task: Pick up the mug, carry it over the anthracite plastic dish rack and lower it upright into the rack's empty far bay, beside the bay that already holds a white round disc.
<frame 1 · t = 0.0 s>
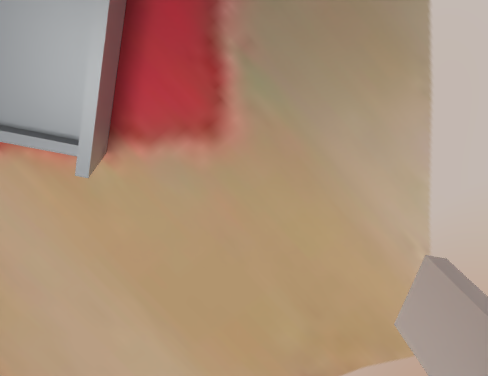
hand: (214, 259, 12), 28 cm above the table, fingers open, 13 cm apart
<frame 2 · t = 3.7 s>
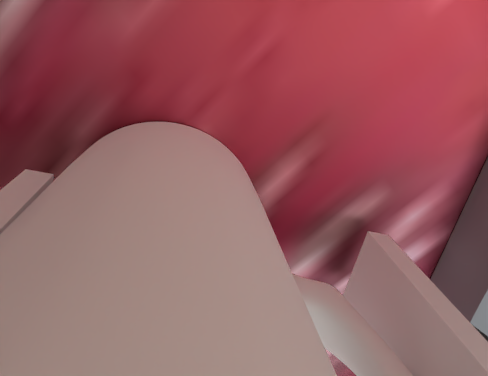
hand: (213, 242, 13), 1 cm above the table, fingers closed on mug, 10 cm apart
mug: (208, 221, 14), on the table, touching gripper
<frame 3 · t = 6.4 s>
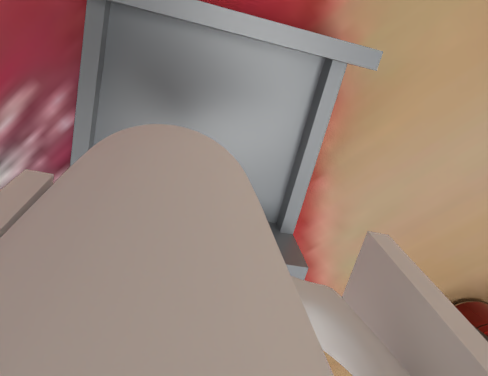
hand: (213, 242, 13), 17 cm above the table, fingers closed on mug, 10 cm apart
rack: (185, 207, 31), on the table
mug: (208, 224, 14), point 16 cm above the table, touching gripper
soda can: (458, 327, 39), on the table
when the fingers open (4 cm above the table, at t = 9.2 s): mug drops 2 cm, resting on rack.
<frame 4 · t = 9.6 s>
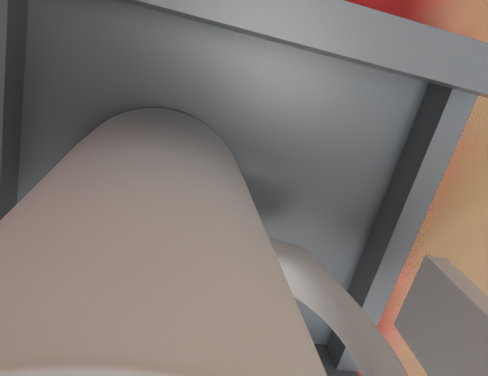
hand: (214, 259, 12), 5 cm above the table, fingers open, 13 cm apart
rack: (178, 321, 19), on the table
mug: (198, 198, 16), point 1 cm above the table, touching rack
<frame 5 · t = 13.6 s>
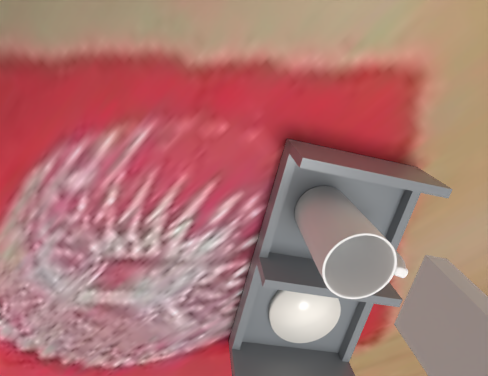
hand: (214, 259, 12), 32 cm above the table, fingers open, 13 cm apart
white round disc: (303, 308, 51), point 1 cm above the table, touching rack
rack: (316, 259, 50), on the table
mug: (332, 213, 47), point 1 cm above the table, touching rack
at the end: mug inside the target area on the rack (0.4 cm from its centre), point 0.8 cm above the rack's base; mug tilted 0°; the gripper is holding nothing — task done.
